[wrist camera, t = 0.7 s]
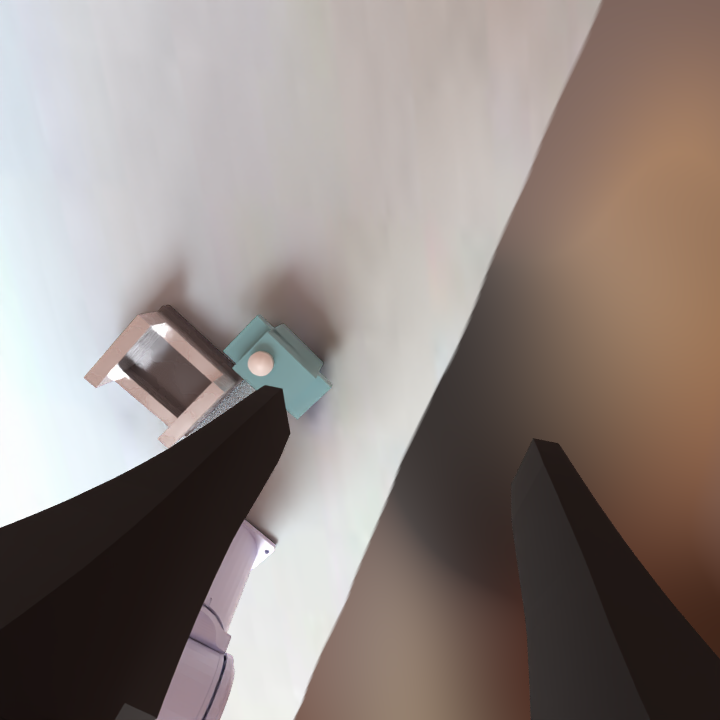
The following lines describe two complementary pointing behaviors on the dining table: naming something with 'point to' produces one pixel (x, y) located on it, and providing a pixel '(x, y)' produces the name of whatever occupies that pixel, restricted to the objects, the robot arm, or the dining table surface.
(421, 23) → the dining table surface
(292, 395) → the block
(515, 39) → the dining table surface
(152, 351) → the plate
